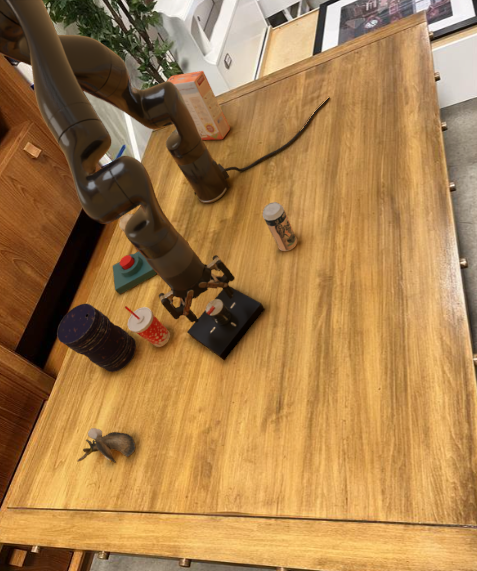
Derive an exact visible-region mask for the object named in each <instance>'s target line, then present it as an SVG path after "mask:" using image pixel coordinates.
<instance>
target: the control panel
mask: <svg viewBox="0 0 477 571" xmlns="http://www.w3.org/2000/svg"><path fill="white" fill-rule="evenodd" d="M230 288H231V289H232V290H233V292H234V294H233V295H232V296H233V298H231V299H230V298H229V297H228V295H227V294H226V293H225V291H224V290H223V289H221V291H220V292H219V293H218V294H217V295H216V296H215V297H214V299H220V300H221V301H222V302H223V303H224V304H225V306H226V307H227V308H228V310H229V311H230V312H231V320H230V321H229V322H228V323H227V324H226V325H223V326H219V325H217V324H216V323H215V322H214V321H213V320H212V319H211V318H210V316H209V315H208V314H207V313H206V309H205V310H204V311H203V312H202V313H201V315H199V316H198V317H197V318H198V320H199V321H198V322H197V323H195V322H193V324H192V325H191V326H190V327H189V329H188V330H187V331H186V333H187V334H188V335H189V336H191V338H192V339H194V340H195V341H197V343H200V345H202V346H204V347H205V348H206V349H207V350H209V351H211V352H212V353H214V355H216V356H217V357H218V358H220V359H222V361H224V362H225V361H226V360H227V358H228V357H229V355H231V353H232V352H233V351H234V350H235V348H236V347H237V346H238V344H240V342H241V340H242V339H243V338H244V337H245V336H246V334H247V333H248V332H249V330H250V329H251V328H252V327H253V325H254V324H255V323H256V321H257V320H258V319H259V318H260V317H261V315H262V314H263V313H264V311H265V310H266V308H265V307H264V305H263V304H262V302H259V301H258V300H256V299H254V298H252V296H248V294H245V293H243V292H242V291H239V290H238V289H236V288H234V287H232V286H230Z"/></svg>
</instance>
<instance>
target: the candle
mask: <svg viewBox="0 0 477 571" xmlns="http://www.w3.org/2000/svg"><path fill="white" fill-rule="evenodd" d="M133 214H134V213H126V214H125V215H123V216H122V217H120V218H119V224H118V225H119V229H120V230H121V231H122V232H123V233H124V234H125V226H126V224H127V222H128V220H129V219H130V218H131V216H132V215H133Z"/></svg>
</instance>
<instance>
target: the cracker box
mask: <svg viewBox="0 0 477 571" xmlns="http://www.w3.org/2000/svg"><path fill="white" fill-rule="evenodd" d="M167 81H169V82H172V83H173V84H174V85H175V86H176V87H177V88H178V90H179V92H180V93H181V95H182V97H183V99H184V101H185V104H186V106H187V108H188V110H189V112H190V114H191V116H192V118H193V120H194V122H195V125H196V128H197V130H198V133H199V134H200V136H201V138H202V140H203V141H209V140H211V141H212V140H215V141H216V140H224V138H225V137H226V135H227V134H228V133H229V131H230V130H231V127H230V125H229V122H228V120H227V118H226V116H225V114H224V112H223V110H222V108H221V106H220V103H219V101H218V99H217V98H216V94H215V93H214V90H213V89H212V87H211V84H210V81H209V80H208V78H207V76H206V74H205V72H204V70H199V71H193V72H186V73H182V74H174V75H171V76H170V77H169V78H168V79H167ZM167 81H166V82H167Z"/></svg>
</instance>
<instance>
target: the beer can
mask: <svg viewBox="0 0 477 571" xmlns="http://www.w3.org/2000/svg"><path fill="white" fill-rule="evenodd" d="M262 218H263V220H264V221H265V223H266V224H265V225H266V226H267V227H268V229H269V232H270V234H271V236H272V237H273V240H274V242H275V244H276V246H277V248H278V249H279V250H280V251H283V252H287V251H291V250H293V249H294V248H295V247H296V246H297V244H298V238H297V237H296V234H295V232H294V229H293V227H292V224H291V221H290V220H289V217H288V215H287V213H286V211H285V208H284V206H283V205H282V204H280V203H279V202H276V201H273V202H269V203H267V204H266V205H265V206H264V208H263V209H262Z"/></svg>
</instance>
